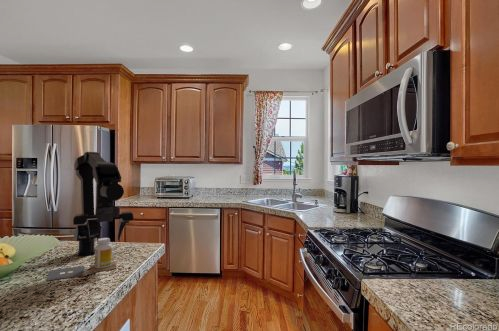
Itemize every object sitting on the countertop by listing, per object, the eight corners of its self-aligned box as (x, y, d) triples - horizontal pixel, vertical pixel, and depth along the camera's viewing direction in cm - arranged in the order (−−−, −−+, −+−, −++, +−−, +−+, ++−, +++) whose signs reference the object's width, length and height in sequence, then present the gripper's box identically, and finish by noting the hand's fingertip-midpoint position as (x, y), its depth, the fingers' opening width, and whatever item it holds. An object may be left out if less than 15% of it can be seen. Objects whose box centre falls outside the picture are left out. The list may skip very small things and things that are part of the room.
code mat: (50, 270, 93) (50, 270, 93) (84, 266, 98) (84, 265, 98) (45, 281, 85) (45, 280, 85) (82, 275, 89) (82, 275, 89)
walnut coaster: (90, 265, 99) (90, 264, 99) (115, 262, 103) (115, 261, 103) (90, 272, 92) (90, 271, 92) (116, 268, 96) (116, 267, 96)
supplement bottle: (114, 263, 100) (115, 237, 100) (105, 269, 95) (106, 241, 95) (101, 263, 101) (101, 237, 101) (91, 268, 95) (91, 240, 95)
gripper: (72, 201, 86) (71, 250, 86) (135, 199, 95) (134, 243, 95) (75, 198, 96) (74, 242, 96) (132, 196, 105) (131, 237, 105)
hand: (104, 241), depth 98 cm, fingers open, 9 cm apart
